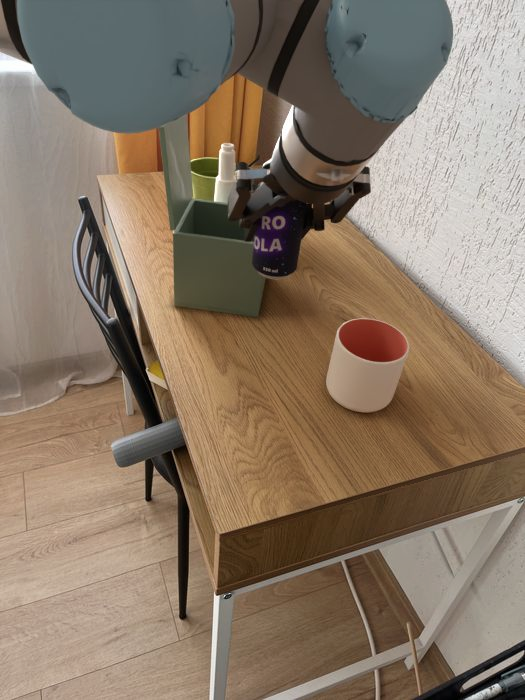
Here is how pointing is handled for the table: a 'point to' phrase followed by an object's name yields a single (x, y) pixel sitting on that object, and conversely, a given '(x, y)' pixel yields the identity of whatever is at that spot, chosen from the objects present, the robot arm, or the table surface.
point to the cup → (366, 364)
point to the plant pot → (204, 177)
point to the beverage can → (279, 240)
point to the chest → (214, 262)
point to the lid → (176, 168)
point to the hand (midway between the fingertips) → (272, 231)
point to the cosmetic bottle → (225, 173)
